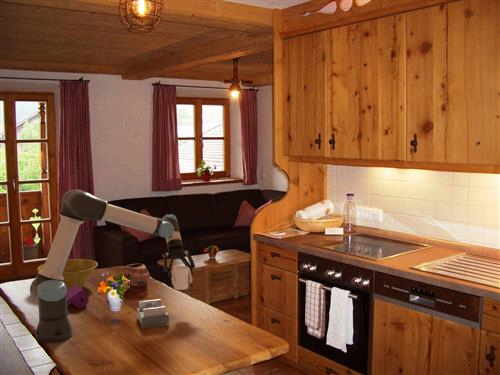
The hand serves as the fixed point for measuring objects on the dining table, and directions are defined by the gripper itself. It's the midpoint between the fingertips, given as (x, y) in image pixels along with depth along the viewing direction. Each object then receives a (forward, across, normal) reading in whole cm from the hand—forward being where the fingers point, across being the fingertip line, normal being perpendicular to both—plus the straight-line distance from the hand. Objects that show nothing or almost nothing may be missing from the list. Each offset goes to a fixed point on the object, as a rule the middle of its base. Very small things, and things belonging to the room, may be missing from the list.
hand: (182, 282), depth 255 cm
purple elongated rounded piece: (-12, +51, -36) cm, 64 cm away
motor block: (+13, +15, -10) cm, 22 cm away
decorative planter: (-25, +14, -49) cm, 57 cm away
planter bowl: (-36, +49, -60) cm, 86 cm away
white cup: (0, 0, -5) cm, 5 cm away
